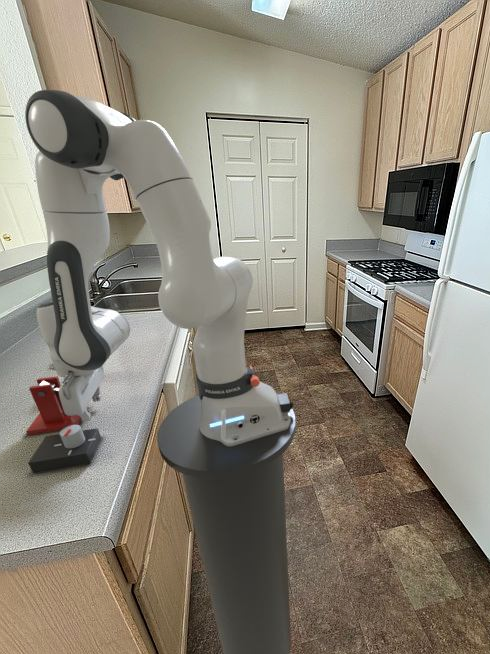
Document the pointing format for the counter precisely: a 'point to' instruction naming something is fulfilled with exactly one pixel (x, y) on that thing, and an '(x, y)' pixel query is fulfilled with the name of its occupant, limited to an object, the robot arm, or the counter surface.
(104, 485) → the counter surface
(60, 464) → the console
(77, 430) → the dial
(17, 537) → the counter surface
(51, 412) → the red lever mount bracket
